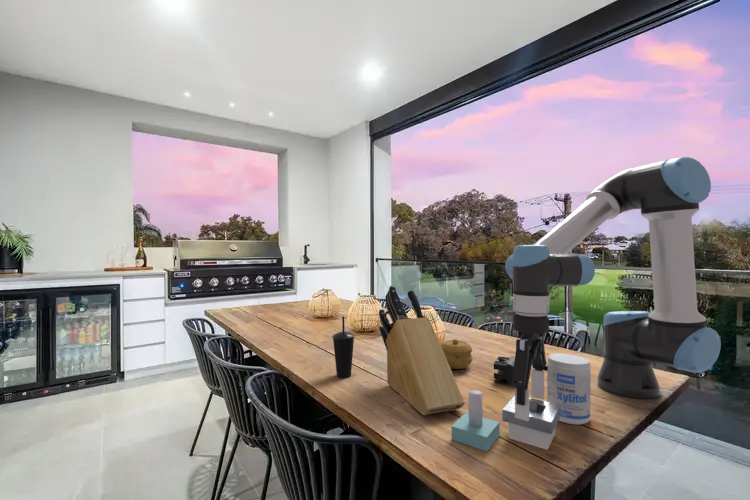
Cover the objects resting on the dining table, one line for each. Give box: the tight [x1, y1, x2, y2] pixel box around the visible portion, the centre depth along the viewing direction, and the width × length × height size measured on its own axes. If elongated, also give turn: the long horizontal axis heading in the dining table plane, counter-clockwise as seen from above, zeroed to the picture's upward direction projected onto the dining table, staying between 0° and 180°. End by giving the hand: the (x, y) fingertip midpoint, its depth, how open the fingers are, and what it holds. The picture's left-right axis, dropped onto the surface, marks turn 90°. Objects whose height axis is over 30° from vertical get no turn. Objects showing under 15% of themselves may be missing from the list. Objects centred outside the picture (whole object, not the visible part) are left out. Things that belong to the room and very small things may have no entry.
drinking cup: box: [331, 316, 356, 379], centre depth 120 cm, size 8×8×20 cm
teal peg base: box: [451, 390, 501, 452], centre depth 79 cm, size 8×8×10 cm
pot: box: [440, 338, 474, 370], centre depth 127 cm, size 12×12×10 cm
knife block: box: [378, 285, 466, 416], centre depth 105 cm, size 11×35×31 cm, turn 20°
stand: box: [507, 398, 556, 451], centre depth 80 cm, size 8×8×8 cm
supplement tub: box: [546, 352, 592, 426], centre depth 89 cm, size 10×10×15 cm
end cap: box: [493, 355, 515, 386], centre depth 114 cm, size 10×7×7 cm
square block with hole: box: [501, 395, 561, 434], centre depth 80 cm, size 10×10×2 cm
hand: (530, 407), depth 80 cm, fingers open, 13 cm apart
